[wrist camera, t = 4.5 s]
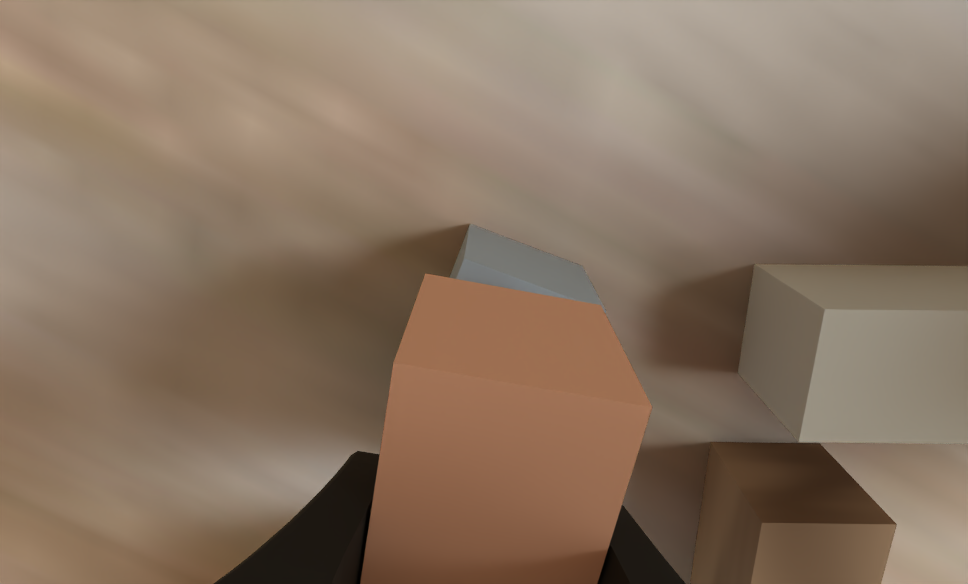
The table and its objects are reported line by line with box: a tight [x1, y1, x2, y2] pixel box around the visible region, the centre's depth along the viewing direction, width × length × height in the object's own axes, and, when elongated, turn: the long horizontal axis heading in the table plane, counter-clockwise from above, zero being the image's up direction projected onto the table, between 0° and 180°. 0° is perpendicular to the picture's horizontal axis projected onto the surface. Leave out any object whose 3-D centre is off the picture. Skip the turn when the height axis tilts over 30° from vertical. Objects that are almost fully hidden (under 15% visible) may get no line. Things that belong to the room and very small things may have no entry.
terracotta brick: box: [360, 273, 652, 584], centre depth 11 cm, size 4×7×4 cm, turn 169°
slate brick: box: [449, 224, 606, 313], centre depth 17 cm, size 4×7×4 cm, turn 159°
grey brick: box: [738, 264, 968, 444], centre depth 16 cm, size 4×7×4 cm, turn 90°
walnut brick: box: [690, 442, 897, 584], centre depth 19 cm, size 4×7×4 cm, turn 0°
